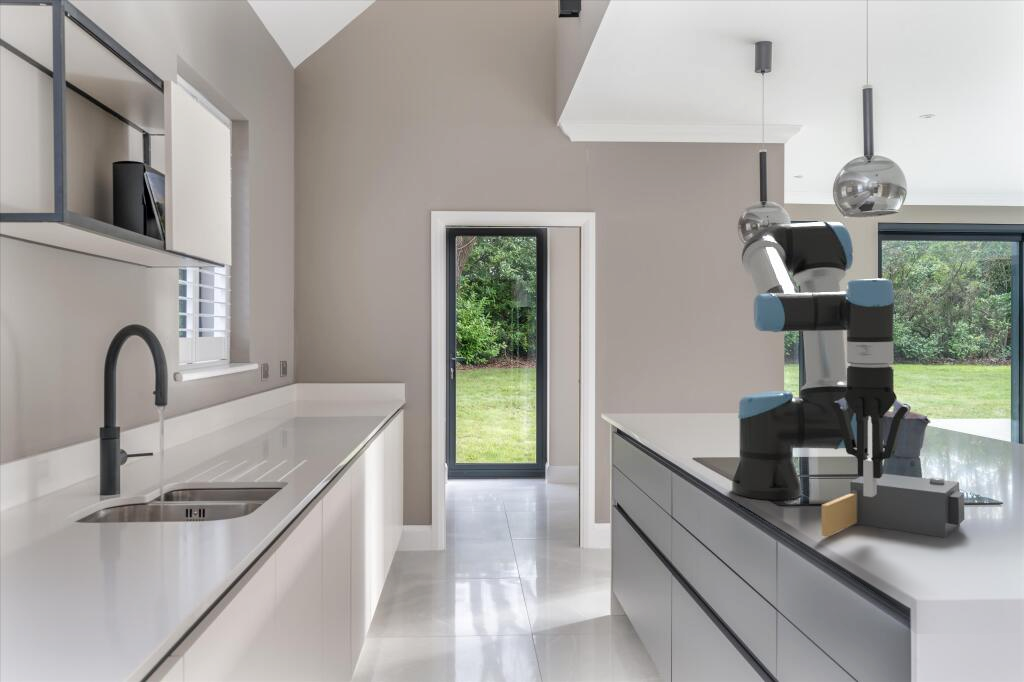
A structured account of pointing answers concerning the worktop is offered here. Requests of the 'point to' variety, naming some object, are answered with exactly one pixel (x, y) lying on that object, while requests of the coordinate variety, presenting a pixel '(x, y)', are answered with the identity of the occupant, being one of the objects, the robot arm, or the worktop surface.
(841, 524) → the side door
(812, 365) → the robot arm
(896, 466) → the moka pot
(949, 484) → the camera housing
